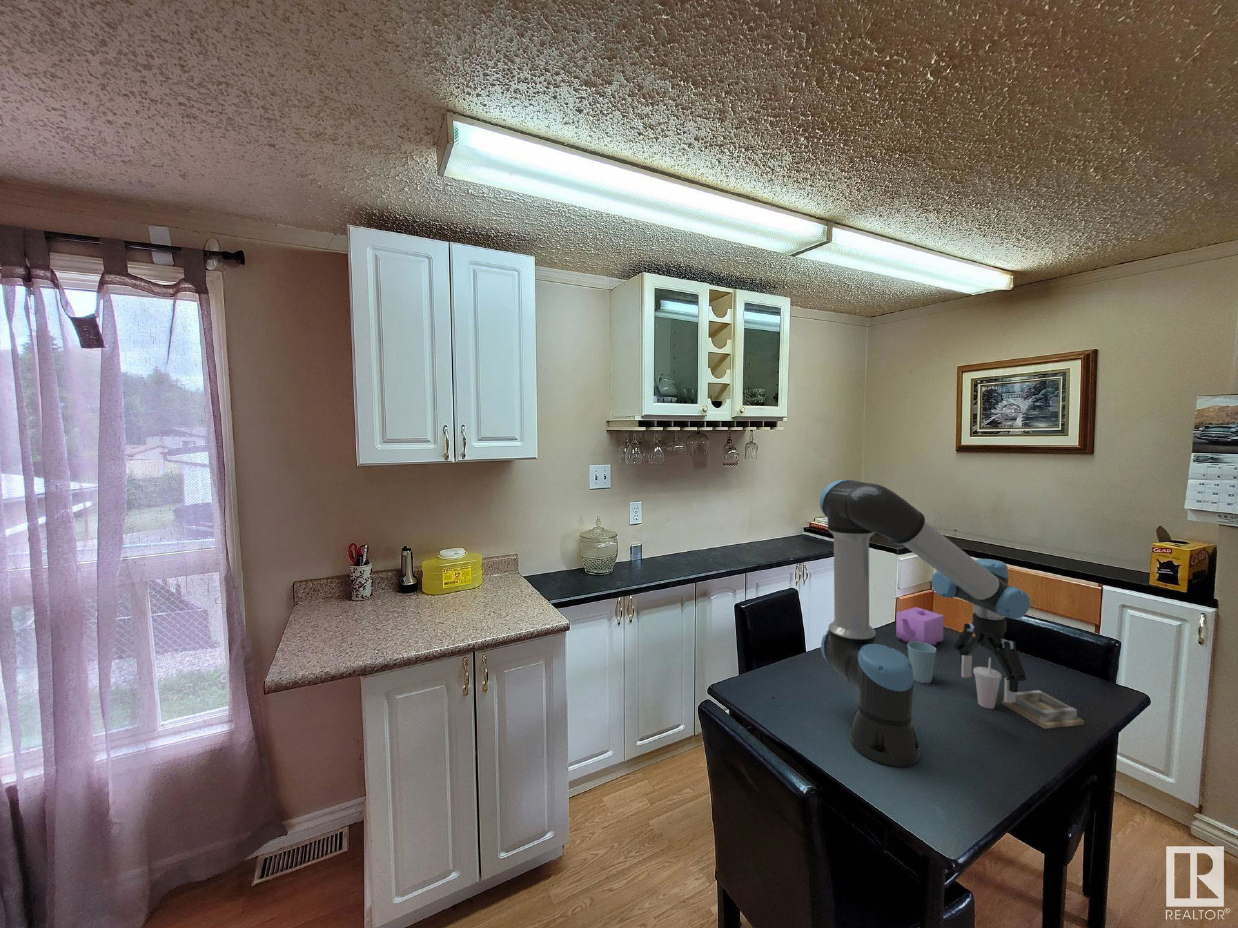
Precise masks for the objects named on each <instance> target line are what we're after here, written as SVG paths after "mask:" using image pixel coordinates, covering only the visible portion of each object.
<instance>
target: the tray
mask: <svg viewBox="0 0 1238 928" xmlns="http://www.w3.org/2000/svg"><path fill="white" fill-rule="evenodd" d="M1001 704H1002V705H1004V706H1006V707H1007V708H1009V709H1010V710H1012V711H1014V712H1016V713H1017V714H1019V715H1020V716H1022V717H1024V718H1026V719H1028V720H1029V721H1031V722H1033V724H1036V725H1037V726H1039V727H1041V728H1042V729H1055V728H1063V727H1064V728H1065V727H1073V726H1082V725H1085V720H1083V719H1082V718H1080V717H1078V709H1076V708H1075V707H1073V706H1070V705H1069V704H1067V703H1065V702H1063V701H1061V700H1059V699H1057V698H1055V697H1053V696H1051V695H1049V694H1047V693H1046V692H1043V690H1039V689H1038V690H1027V691H1017V692H1016V698H1015V702H1010V703H1006V702H1004V699H1001Z"/></svg>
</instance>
